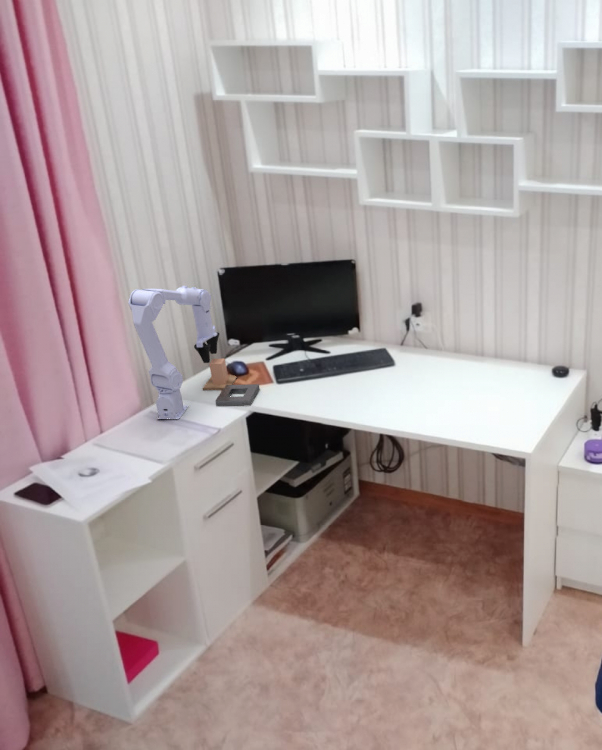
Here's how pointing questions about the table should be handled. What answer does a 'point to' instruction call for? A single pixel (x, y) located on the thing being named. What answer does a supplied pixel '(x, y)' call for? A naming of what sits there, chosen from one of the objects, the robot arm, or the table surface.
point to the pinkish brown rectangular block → (218, 371)
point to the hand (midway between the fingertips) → (210, 357)
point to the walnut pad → (210, 385)
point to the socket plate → (248, 397)
